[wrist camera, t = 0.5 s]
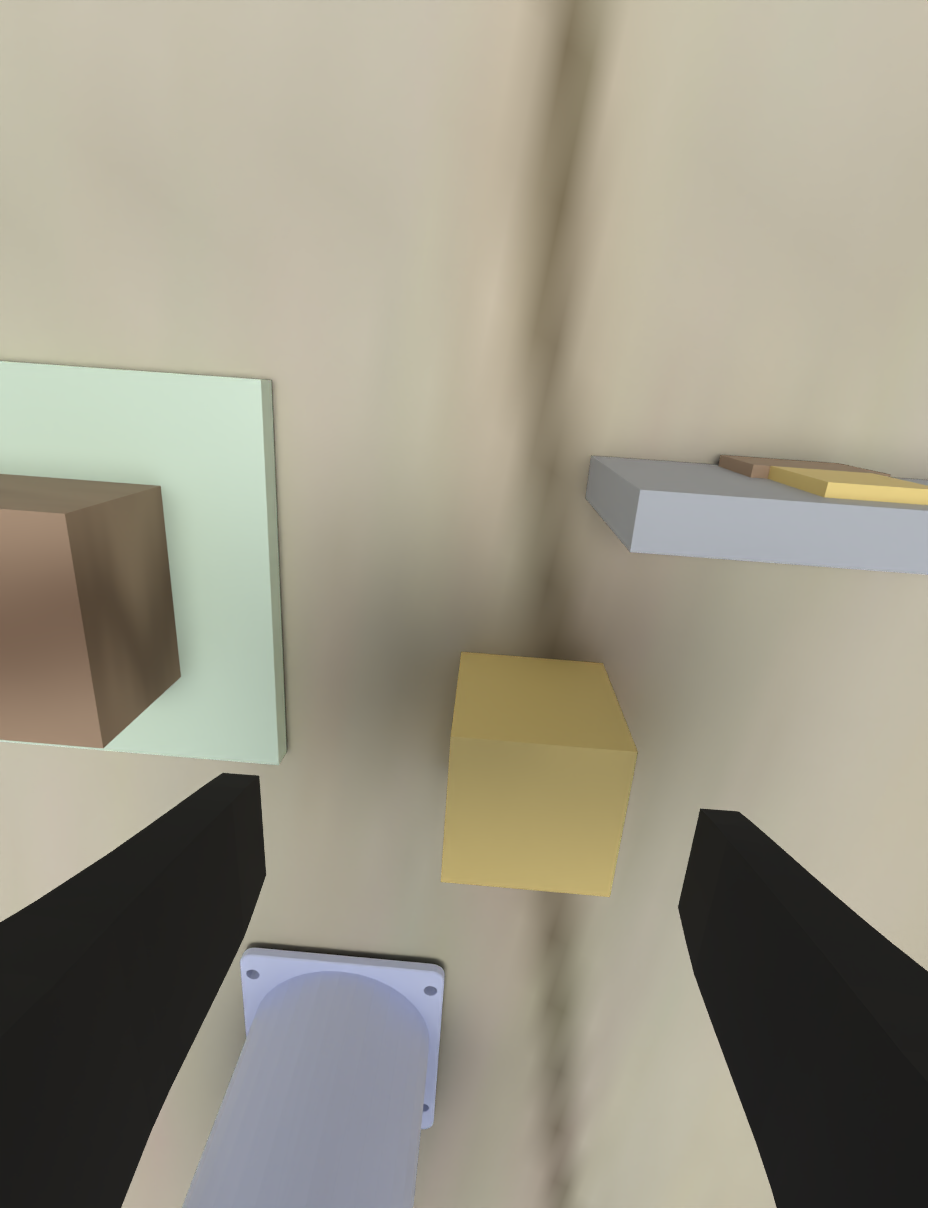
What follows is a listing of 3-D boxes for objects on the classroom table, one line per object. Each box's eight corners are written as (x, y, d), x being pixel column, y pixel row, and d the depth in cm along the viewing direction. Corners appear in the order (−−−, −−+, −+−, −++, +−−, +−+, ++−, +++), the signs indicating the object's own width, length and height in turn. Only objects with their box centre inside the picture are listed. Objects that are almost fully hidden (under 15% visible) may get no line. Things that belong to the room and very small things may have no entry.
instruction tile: (938, 524, 17) (1159, 591, 11) (585, 498, 17) (629, 551, 12) (957, 470, 16) (1198, 514, 11) (592, 444, 17) (642, 473, 11)
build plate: (286, 751, 21) (278, 765, 20) (-55, 722, 21) (-75, 735, 20) (271, 380, 16) (260, 379, 16) (-153, 350, 17) (-183, 348, 16)
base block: (180, 676, 19) (102, 748, 15) (-5, 661, 19) (-129, 729, 15) (160, 485, 17) (65, 513, 13) (-48, 470, 17) (-202, 493, 13)
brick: (583, 780, 21) (609, 896, 16) (452, 769, 21) (440, 881, 16) (602, 662, 19) (637, 752, 14) (461, 650, 19) (450, 736, 14)
